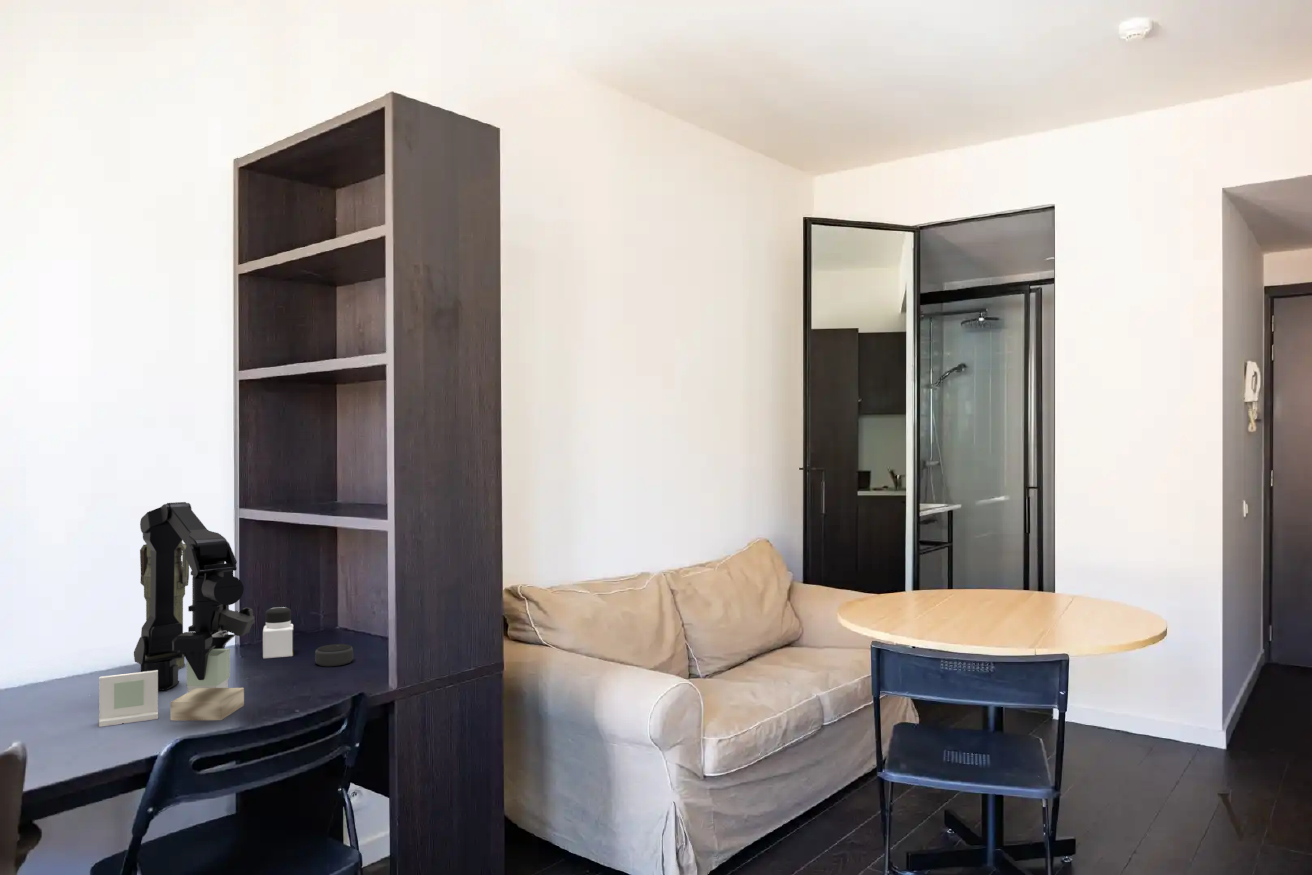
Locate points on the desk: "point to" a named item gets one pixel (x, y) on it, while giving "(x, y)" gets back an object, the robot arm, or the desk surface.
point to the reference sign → (128, 698)
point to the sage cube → (212, 669)
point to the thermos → (179, 583)
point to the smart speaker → (334, 655)
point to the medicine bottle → (278, 633)
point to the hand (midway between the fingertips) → (208, 675)
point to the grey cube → (222, 685)
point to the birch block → (207, 704)
